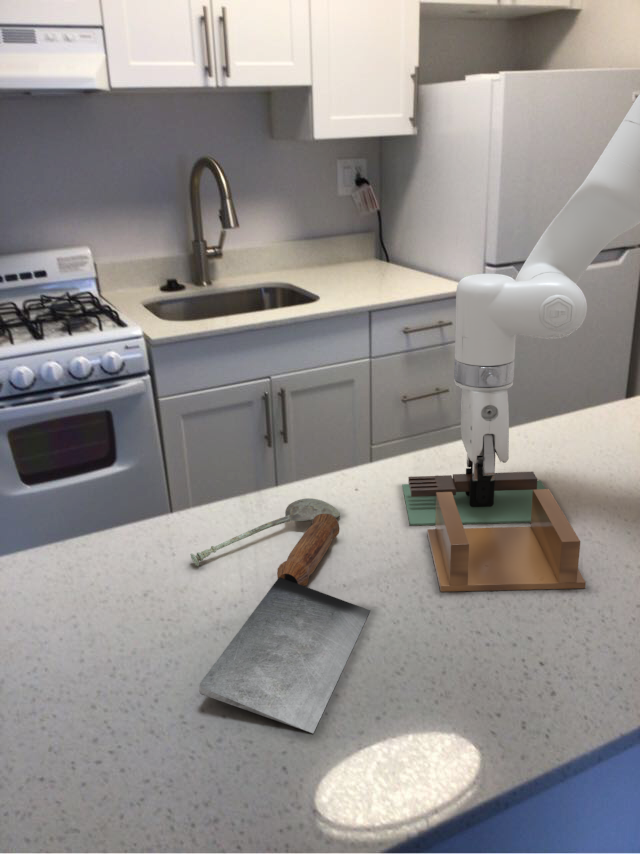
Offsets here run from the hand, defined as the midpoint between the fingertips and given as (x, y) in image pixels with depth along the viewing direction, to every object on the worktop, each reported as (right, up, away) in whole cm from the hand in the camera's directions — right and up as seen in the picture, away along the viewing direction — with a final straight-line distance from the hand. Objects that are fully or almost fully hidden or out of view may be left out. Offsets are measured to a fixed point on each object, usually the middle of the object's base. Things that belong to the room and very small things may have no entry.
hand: (479, 499), depth 104 cm
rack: (0, -6, -14) cm, 15 cm away
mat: (0, -1, 0) cm, 1 cm away
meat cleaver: (-23, -10, -22) cm, 33 cm away
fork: (-1, +2, -1) cm, 2 cm away
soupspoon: (-29, -4, -6) cm, 30 cm away
